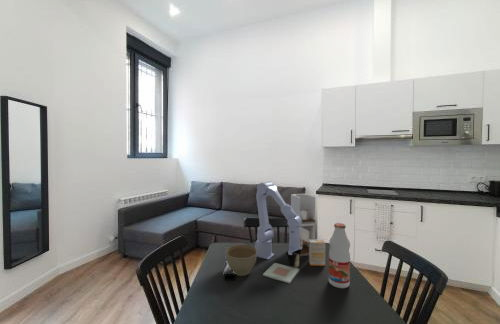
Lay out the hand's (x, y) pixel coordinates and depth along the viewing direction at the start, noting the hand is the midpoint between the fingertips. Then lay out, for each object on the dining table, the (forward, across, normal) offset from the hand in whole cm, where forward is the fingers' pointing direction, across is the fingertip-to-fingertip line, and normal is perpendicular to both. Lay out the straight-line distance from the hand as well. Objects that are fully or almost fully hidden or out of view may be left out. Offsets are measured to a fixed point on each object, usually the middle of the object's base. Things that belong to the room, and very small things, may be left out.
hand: (294, 263), depth 129 cm
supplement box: (+2, +8, -10) cm, 13 cm away
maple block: (+2, 0, 0) cm, 2 cm away
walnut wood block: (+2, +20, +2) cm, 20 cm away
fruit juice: (+2, -6, -24) cm, 25 cm away
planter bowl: (+2, -20, +21) cm, 29 cm away
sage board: (+1, -11, +3) cm, 11 cm away
